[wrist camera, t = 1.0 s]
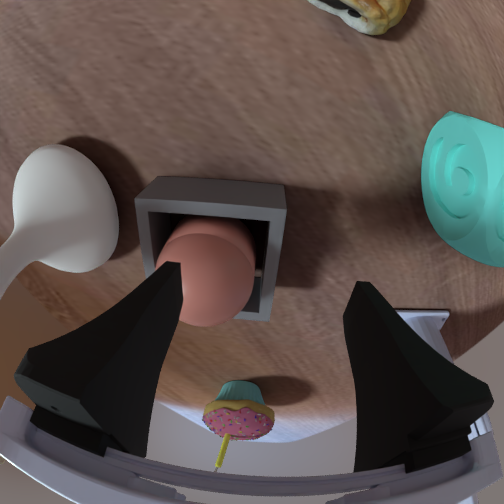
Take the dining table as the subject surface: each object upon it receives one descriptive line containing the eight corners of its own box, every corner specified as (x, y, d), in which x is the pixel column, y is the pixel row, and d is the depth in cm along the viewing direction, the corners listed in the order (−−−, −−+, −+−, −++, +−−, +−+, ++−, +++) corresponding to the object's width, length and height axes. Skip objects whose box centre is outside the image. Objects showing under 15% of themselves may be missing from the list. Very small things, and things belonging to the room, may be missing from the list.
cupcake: (204, 395, 35) (190, 474, 25) (214, 365, 31) (198, 462, 21) (264, 406, 36) (260, 483, 26) (285, 378, 31) (285, 472, 21)
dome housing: (269, 286, 24) (269, 321, 20) (166, 275, 24) (151, 307, 20) (283, 184, 19) (286, 209, 15) (157, 176, 19) (134, 198, 16)
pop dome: (252, 287, 21) (247, 352, 16) (174, 279, 21) (150, 338, 16) (260, 214, 18) (255, 272, 13) (167, 206, 18) (131, 259, 13)
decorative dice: (483, 213, 18) (536, 267, 12) (412, 208, 19) (465, 271, 12) (499, 126, 14) (568, 159, 7) (425, 104, 15) (501, 128, 8)
